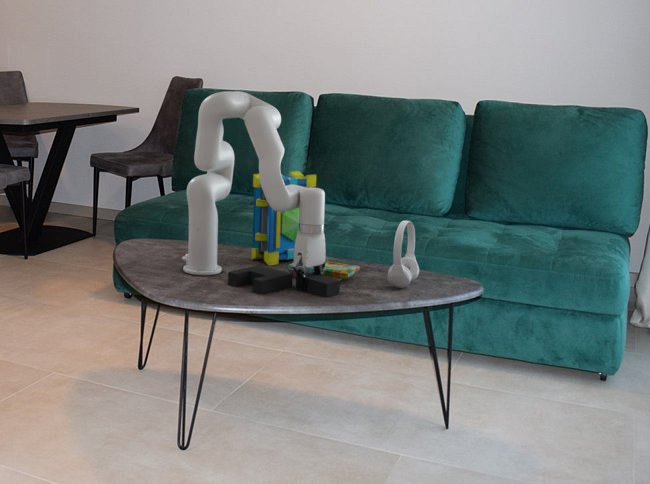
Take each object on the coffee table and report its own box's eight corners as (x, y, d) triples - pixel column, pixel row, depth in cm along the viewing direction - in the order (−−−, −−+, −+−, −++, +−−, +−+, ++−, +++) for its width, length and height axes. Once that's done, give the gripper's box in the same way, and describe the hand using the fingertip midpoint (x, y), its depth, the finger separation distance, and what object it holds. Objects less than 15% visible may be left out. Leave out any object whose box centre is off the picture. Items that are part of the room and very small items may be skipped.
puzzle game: (301, 255, 271) (359, 263, 262) (300, 269, 272) (359, 278, 262) (287, 262, 261) (348, 271, 252) (287, 277, 262) (347, 286, 252)
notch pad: (227, 284, 252) (228, 271, 251) (259, 277, 261) (259, 264, 261) (261, 294, 241) (261, 280, 241) (292, 286, 251) (293, 273, 250)
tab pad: (295, 288, 248) (295, 275, 248) (308, 285, 252) (308, 272, 252) (326, 297, 239) (327, 283, 239) (339, 293, 243) (339, 280, 243)
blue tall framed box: (320, 260, 286) (322, 175, 283) (267, 267, 274) (270, 178, 271) (294, 251, 298) (296, 170, 295) (242, 258, 286) (244, 173, 283)
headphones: (383, 289, 249) (386, 224, 247) (398, 276, 265) (401, 215, 263) (407, 293, 245) (409, 227, 244) (421, 279, 261) (423, 217, 260)
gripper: (319, 223, 255) (318, 280, 257) (282, 230, 244) (281, 289, 245) (339, 227, 250) (337, 285, 251) (302, 234, 238) (300, 295, 240)
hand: (309, 286), depth 248 cm, fingers closed on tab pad, 6 cm apart
